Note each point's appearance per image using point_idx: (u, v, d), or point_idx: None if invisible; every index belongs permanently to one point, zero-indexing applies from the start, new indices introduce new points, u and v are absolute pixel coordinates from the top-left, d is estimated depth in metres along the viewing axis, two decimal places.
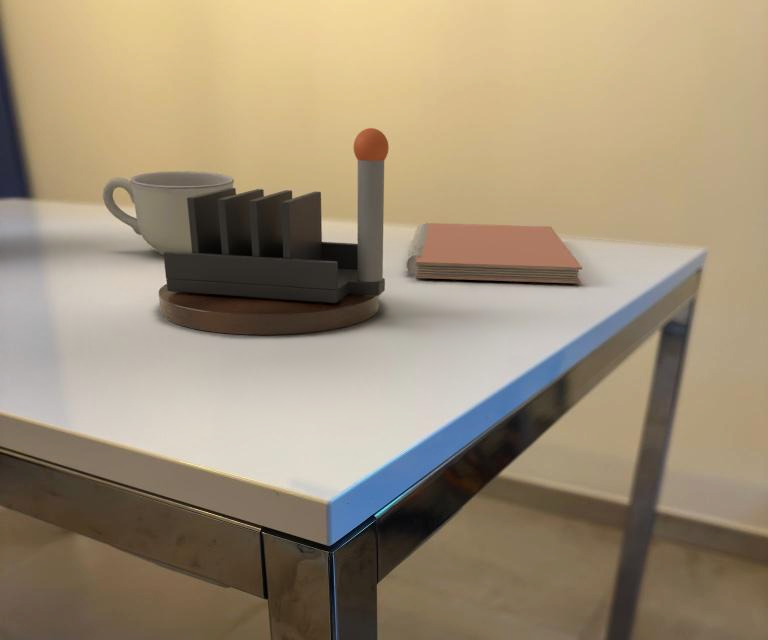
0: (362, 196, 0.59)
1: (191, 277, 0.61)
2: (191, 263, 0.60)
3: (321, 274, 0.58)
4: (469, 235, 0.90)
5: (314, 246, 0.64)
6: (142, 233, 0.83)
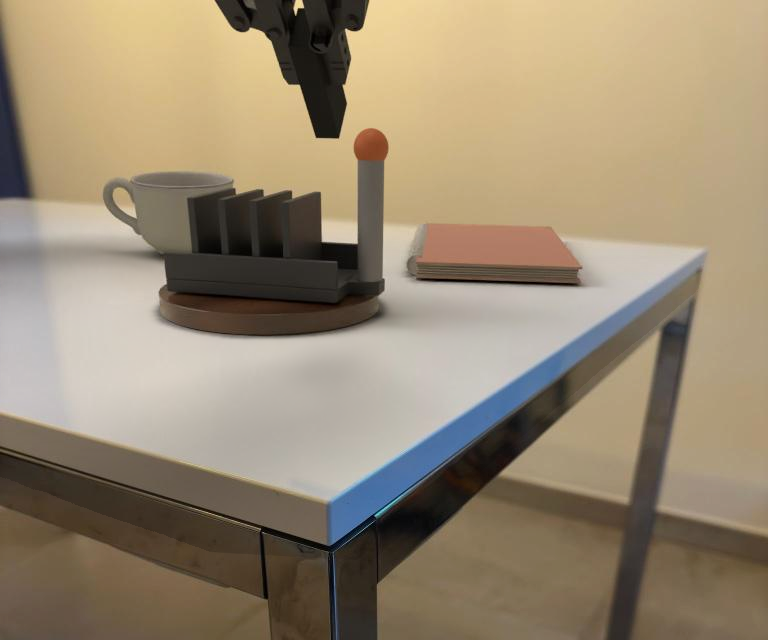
0: (362, 196, 0.59)
1: (191, 277, 0.61)
2: (191, 263, 0.60)
3: (321, 274, 0.58)
4: (469, 235, 0.90)
5: (314, 246, 0.64)
6: (142, 233, 0.83)
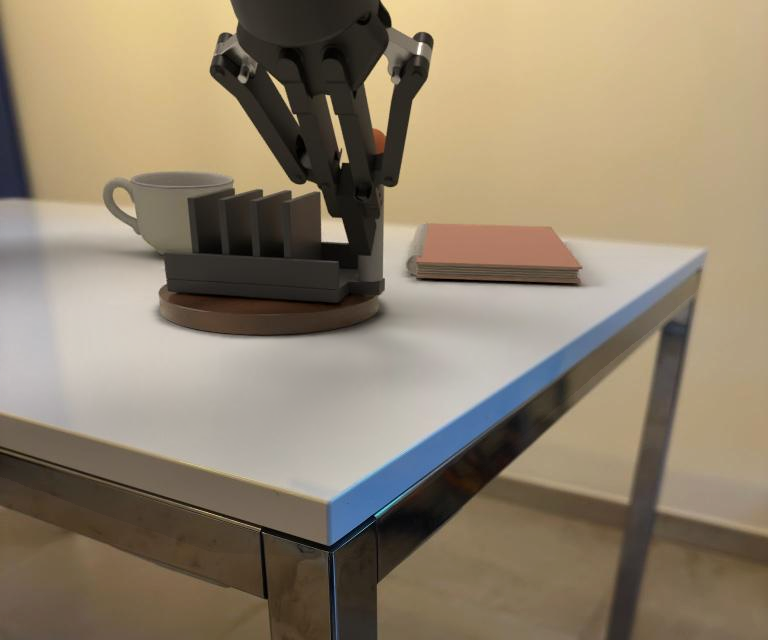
0: None
1: (191, 277, 0.61)
2: (191, 263, 0.60)
3: (322, 274, 0.58)
4: (469, 235, 0.90)
5: (314, 246, 0.64)
6: (142, 233, 0.83)
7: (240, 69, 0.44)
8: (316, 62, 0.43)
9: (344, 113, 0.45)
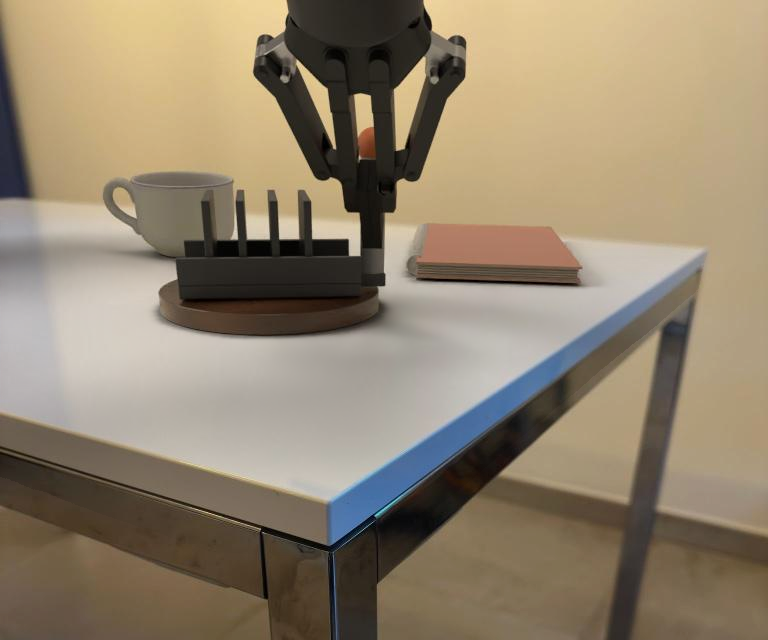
0: None
1: (207, 282, 0.59)
2: (207, 268, 0.59)
3: (346, 269, 0.60)
4: (469, 235, 0.90)
5: None
6: (142, 233, 0.83)
7: (282, 69, 0.46)
8: (360, 62, 0.45)
9: (381, 111, 0.48)
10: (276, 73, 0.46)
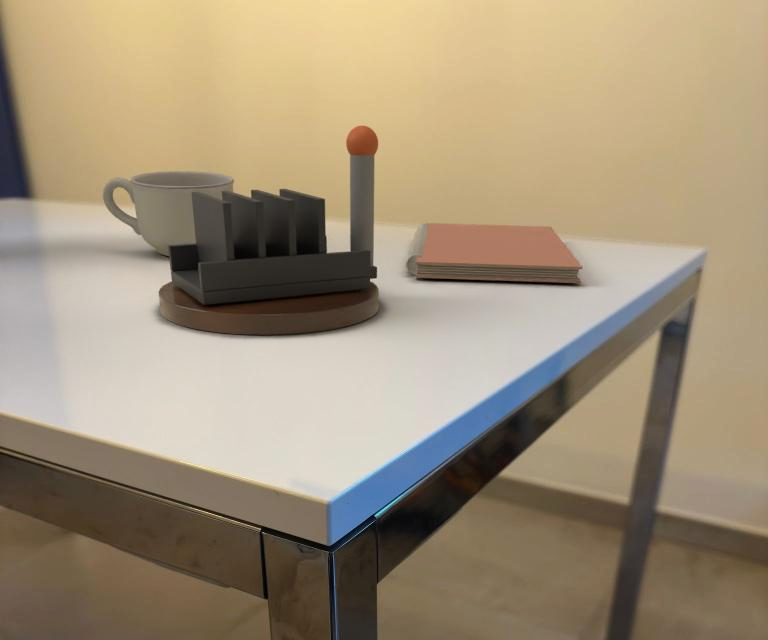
0: (362, 188, 0.64)
1: (231, 286, 0.58)
2: (231, 271, 0.58)
3: (358, 263, 0.62)
4: (469, 235, 0.90)
5: None
6: (142, 233, 0.83)
7: None
8: None
9: None
10: None
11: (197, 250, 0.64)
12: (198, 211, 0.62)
